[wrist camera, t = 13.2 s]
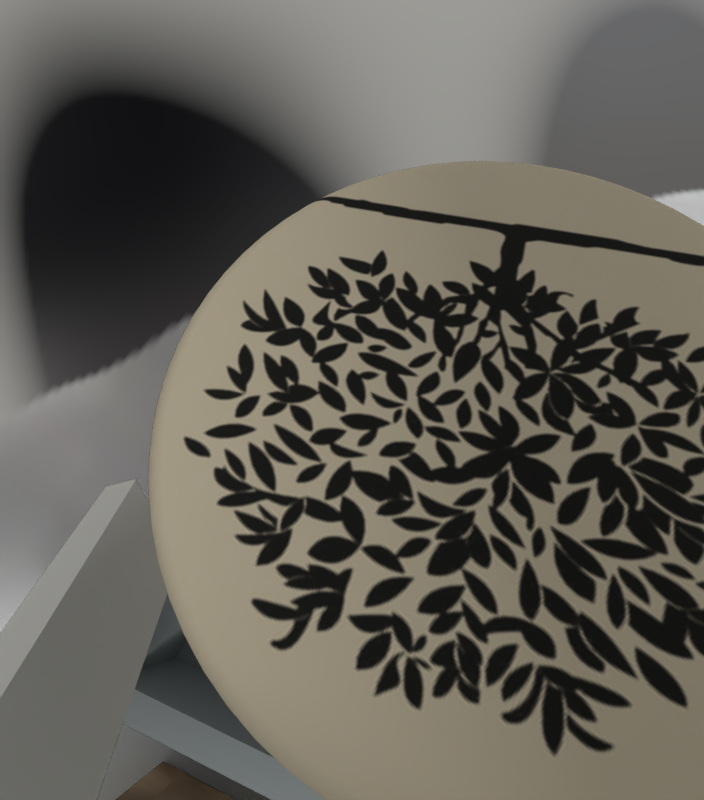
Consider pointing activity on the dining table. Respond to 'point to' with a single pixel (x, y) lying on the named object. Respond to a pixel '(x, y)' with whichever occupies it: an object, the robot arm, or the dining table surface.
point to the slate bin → (201, 717)
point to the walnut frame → (171, 787)
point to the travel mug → (450, 489)
